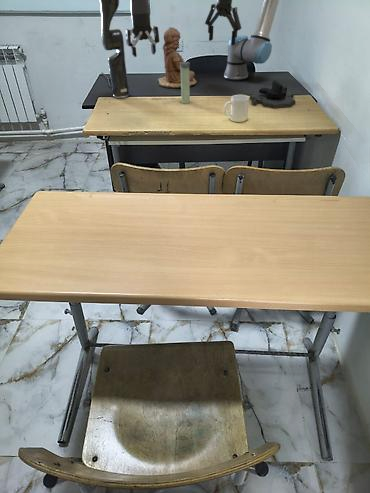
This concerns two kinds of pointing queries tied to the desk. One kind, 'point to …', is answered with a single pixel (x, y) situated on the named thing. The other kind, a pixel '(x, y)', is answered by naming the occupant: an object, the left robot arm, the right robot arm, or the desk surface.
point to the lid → (184, 64)
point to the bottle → (185, 85)
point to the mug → (238, 108)
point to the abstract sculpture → (273, 96)
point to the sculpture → (173, 61)
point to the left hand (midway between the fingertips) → (144, 55)
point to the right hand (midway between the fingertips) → (221, 42)
